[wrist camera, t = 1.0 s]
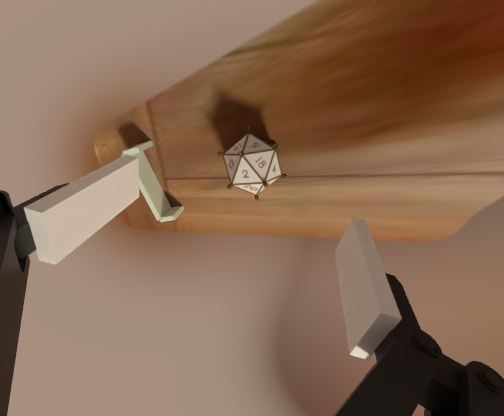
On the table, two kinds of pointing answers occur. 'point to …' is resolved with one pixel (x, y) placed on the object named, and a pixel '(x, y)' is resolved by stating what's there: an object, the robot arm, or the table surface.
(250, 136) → the game die
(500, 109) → the table surface
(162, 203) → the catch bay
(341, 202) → the table surface
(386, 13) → the table surface
